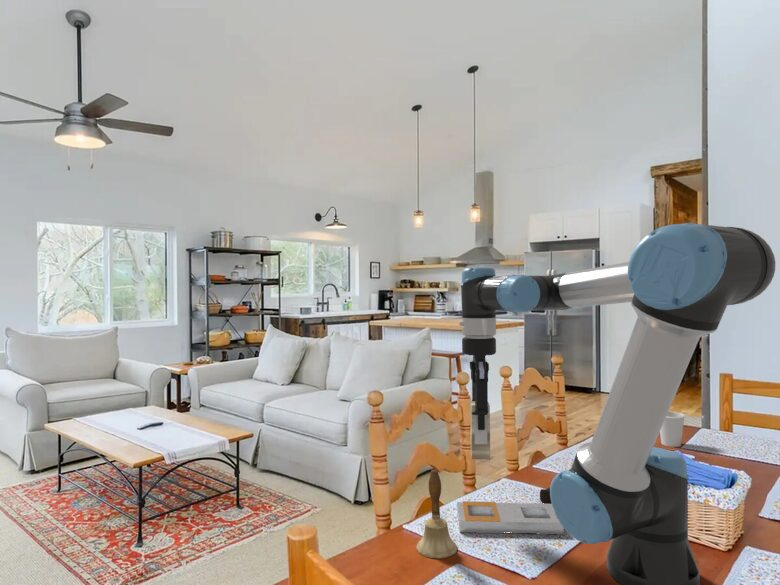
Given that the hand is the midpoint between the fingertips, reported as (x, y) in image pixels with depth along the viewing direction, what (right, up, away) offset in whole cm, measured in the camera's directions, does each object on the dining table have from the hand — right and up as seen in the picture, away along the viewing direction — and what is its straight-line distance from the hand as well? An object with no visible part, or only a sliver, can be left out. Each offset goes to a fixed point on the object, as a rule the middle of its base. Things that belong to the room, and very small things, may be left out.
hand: (480, 440), depth 118 cm
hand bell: (-11, -19, -11) cm, 25 cm away
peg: (0, -4, 0) cm, 4 cm away
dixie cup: (+73, -17, +56) cm, 93 cm away
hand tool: (+25, -19, +15) cm, 34 cm away
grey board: (+6, -18, 0) cm, 19 cm away
